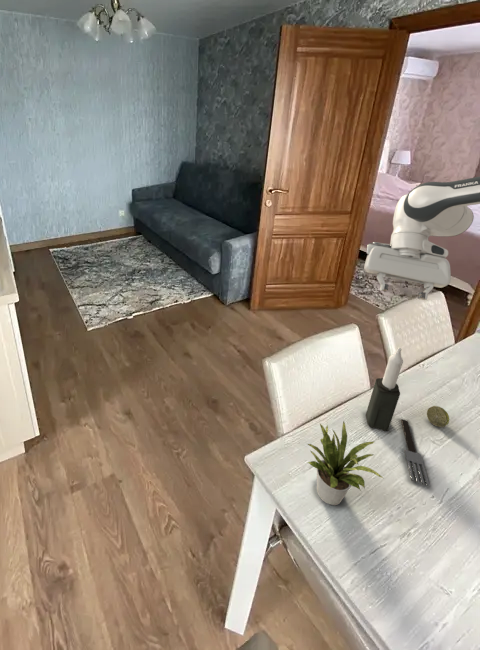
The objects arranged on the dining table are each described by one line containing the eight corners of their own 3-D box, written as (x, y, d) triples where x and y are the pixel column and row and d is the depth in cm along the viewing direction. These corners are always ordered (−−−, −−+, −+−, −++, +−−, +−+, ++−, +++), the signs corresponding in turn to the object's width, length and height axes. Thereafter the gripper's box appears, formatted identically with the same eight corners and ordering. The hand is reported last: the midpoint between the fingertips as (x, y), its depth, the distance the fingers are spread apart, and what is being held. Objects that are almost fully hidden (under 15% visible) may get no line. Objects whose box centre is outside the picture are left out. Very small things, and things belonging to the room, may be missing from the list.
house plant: (380, 496, 76) (399, 444, 70) (357, 548, 67) (376, 494, 61) (318, 453, 86) (329, 404, 79) (290, 493, 77) (301, 441, 70)
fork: (411, 423, 94) (412, 422, 94) (428, 486, 78) (429, 485, 78) (396, 419, 95) (397, 418, 95) (410, 480, 79) (411, 479, 79)
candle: (367, 426, 93) (390, 352, 83) (365, 412, 97) (386, 339, 88) (389, 432, 91) (414, 357, 82) (385, 417, 96) (409, 344, 86)
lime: (446, 432, 91) (452, 419, 89) (424, 423, 94) (429, 409, 92) (446, 421, 94) (452, 408, 93) (425, 412, 97) (430, 399, 95)
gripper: (371, 236, 97) (364, 283, 93) (455, 252, 91) (452, 302, 88) (364, 244, 103) (358, 288, 99) (443, 258, 97) (439, 306, 94)
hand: (402, 295), depth 93 cm, fingers open, 8 cm apart
